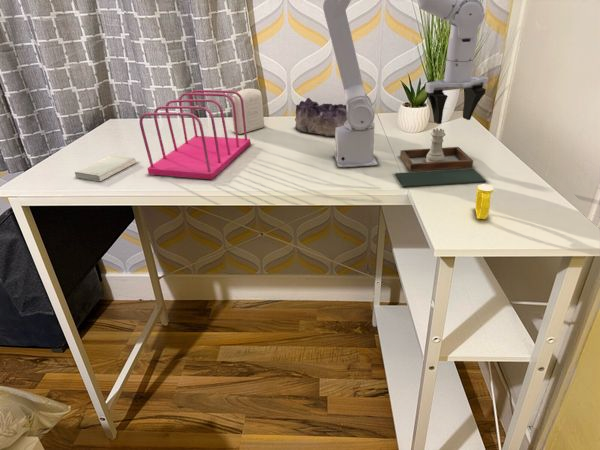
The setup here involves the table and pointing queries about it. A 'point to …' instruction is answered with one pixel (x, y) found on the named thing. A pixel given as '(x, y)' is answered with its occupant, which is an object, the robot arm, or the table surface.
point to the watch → (483, 200)
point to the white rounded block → (248, 110)
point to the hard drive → (105, 168)
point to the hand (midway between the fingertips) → (452, 120)
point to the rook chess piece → (436, 147)
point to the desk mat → (439, 177)
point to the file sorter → (197, 142)
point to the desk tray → (462, 163)
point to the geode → (320, 117)
